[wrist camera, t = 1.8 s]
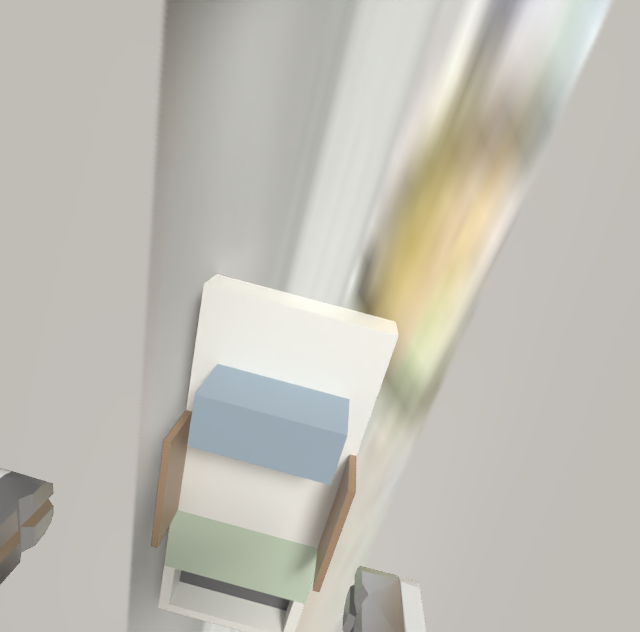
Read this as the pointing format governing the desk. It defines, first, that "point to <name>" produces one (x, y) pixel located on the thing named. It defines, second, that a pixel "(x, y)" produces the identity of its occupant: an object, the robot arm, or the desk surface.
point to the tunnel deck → (256, 481)
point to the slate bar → (269, 423)
